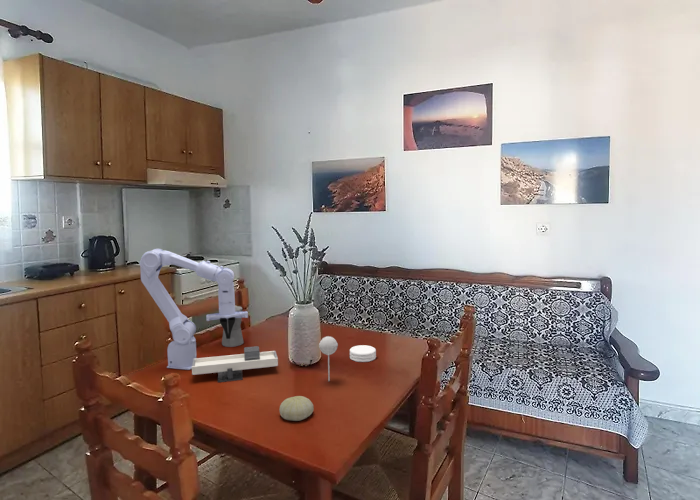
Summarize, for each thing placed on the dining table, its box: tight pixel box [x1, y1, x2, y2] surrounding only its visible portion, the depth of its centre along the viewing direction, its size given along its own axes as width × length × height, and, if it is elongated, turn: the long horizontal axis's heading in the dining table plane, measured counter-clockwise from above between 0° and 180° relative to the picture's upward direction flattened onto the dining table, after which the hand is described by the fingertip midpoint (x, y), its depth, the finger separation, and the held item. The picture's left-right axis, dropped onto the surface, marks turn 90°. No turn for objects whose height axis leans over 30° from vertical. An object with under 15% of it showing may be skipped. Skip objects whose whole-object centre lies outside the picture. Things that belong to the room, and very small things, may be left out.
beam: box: [191, 350, 279, 376], centre depth 151 cm, size 28×8×3 cm, turn 106°
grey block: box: [243, 345, 261, 361], centre depth 152 cm, size 5×5×4 cm
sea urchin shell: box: [279, 395, 314, 422], centre depth 121 cm, size 9×8×8 cm
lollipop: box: [318, 335, 339, 382], centre depth 143 cm, size 6×6×15 cm
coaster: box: [349, 344, 377, 363], centre depth 166 cm, size 10×10×4 cm
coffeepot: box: [221, 305, 245, 348], centre depth 184 cm, size 15×9×18 cm, turn 44°
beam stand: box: [217, 368, 244, 383], centre depth 151 cm, size 8×12×4 cm, turn 16°
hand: (228, 338), depth 161 cm, fingers closed
